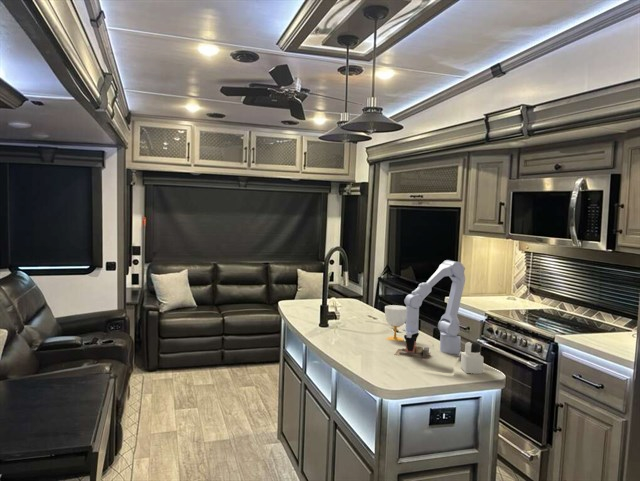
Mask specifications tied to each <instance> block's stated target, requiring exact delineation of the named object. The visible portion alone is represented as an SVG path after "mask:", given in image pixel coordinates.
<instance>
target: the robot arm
mask: <svg viewBox="0 0 640 481" xmlns="http://www.w3.org/2000/svg"><path fill="white" fill-rule="evenodd" d="M465 269H466V268H465V266H464V265H463V263H462V262H460V261H454V260H451V259H446V260H444V261H443V262H442V263H441V264H439V266H438V268H437V269H436V271H435V272H434V273H433V274H432V275H431V276H430V277H429V278H428V280H426V282H421V283H419V284H418V286H417V288H415V289H414V290H413V291H411V293H409V294H407V295H406V296H405V298H404V299H403V302H404V304H405V307H406V321H405V328H403V329H402V331H403V332H405V333H406V334H404V336H403V339H404V341H405V345H406V344H407V349H408V351H413V347H414V343H415V341H416V342H417V339H418V337H419V335H420V332H419V316H420V307H421V306H422V304H423V301H424V299H425V298H426V297H427V296H428V295H430V293H432V288H433V287H434V286H435V285H436V284H437V283H439V281H441V280H442V279H443V278H445V277H449V278H450V280H451V281H452V283H451V285H450V286H451V287H450V292H449V296H448V300H447V305H446V307H445V308H446V309H445V312H444V314H442V316H441V317H440V320H439V321H438V322H437V323H438V324H437V328H438V330H439V333H440V338H439V351H440V353H444V354H451V355H452V354H453V355H456V357H457V358H458V357H460V356H461V350H462V348H461V342H462V341H461V336H459V335H458V334H459V333H460V328H461V327H460V322H461V321H460V319H459V318H458V313H459V309H460V306H461V305H460V304H461V301H462V296H463V292H464V288H465V282H466V276H465Z"/></svg>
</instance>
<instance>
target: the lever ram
mask: <svg viewBox="0 0 640 481" xmlns="http://www.w3.org/2000/svg"><path fill="white" fill-rule="evenodd" d="M415 347H417V340H416V341H415V343H414V347H413V351H408V349H407V344H406V343H405V349H406V352H407V353H415Z"/></svg>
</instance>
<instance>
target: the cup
mask: <svg viewBox="0 0 640 481" xmlns="http://www.w3.org/2000/svg"><path fill="white" fill-rule="evenodd" d="M384 315H385V317H384V318H385V321H386V322H387V325H389V326H391V327H392V328H393V330H394V331H393V336H388V337H386V339H385V340H388V341H389V340H390V341H398V342H404V341H405V338H403V337H400V336H398V337H397V329H398V328H400V327H402V326H403V325H404V324H406V305H405V306H404V305H398V304H397V305H396V304H392V305H391V304H388V305H385V306H384Z"/></svg>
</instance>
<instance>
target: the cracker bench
mask: <svg viewBox="0 0 640 481" xmlns="http://www.w3.org/2000/svg"><path fill="white" fill-rule="evenodd" d="M430 355H431V352H430V347H423V355H422V354H415V353H407V352H406V347H405V348H403V347H402V348H397V350H396V352H395V353H394V356H399V357H406V358H414V359H422V360H423V359H424V360H428V359H429V357H430Z"/></svg>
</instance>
